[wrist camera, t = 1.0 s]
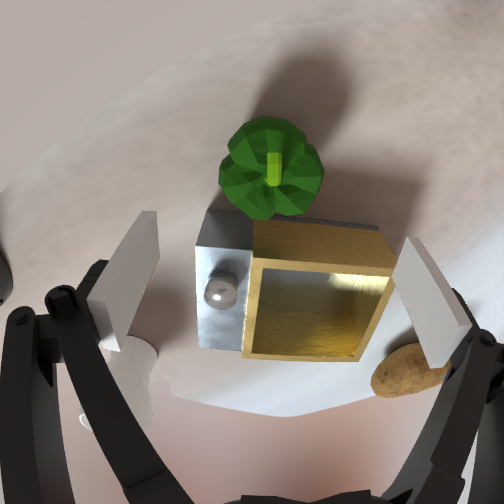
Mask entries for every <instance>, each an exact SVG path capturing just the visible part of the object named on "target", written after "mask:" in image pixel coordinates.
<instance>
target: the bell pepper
mask: <svg viewBox="0 0 504 504" xmlns="http://www.w3.org/2000/svg"><path fill="white" fill-rule="evenodd" d="M228 149H229V152H230V154H229V155H228V156H227V157H226V158H224V159H223V160H222V163H221V165H220V167H219V181H218V184H219V185H220V187H221V188H222V190H223V191H224V193H225V194H226V196H227V197H228V199H229V200H230V202H232V203H233V204H234V205H235V206H237V207H238V208H239V209H240V210H241V211H243V212H244V213H245V214H246V215H248V216H249V217H250V218H251V219H259V220H269V219H270V218H271V217H272V216H273V215H274V214H275V213H276V212H277V213H280V214H282V215H284V216H291V215H297V214H303V213H305V212H306V211H307V210H308V208H309V206H310V205H311V203H312V201H313V200H314V198H315V196H316V195H317V193H318V191H319V188H320V185H321V182H322V178H323V175H324V172H325V170H324V168H323V166H322V163H321V161H320V158H319V156H318V154H317V152H316V150H315V149H314V147H313V146H312V145H310V144H308V143H307V142H306V136H305V135H304V133H303V132H302V131H301V130H300V129H298V128H297V127H296V126H295V125H293V124H292V123H291V122H289V121H288V120H284V119H278V118H272V117H266V116H263V117H260V118H257V119H255V120H252V121H249V122H246V123H244V124H243V125H242V126H241V127H240V129H239V130H238V131H237V132H236V133H235V134H234V135H233V137H232V138H231V139H230V141H229V143H228Z"/></svg>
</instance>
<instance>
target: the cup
mask: <svg viewBox="0 0 504 504" xmlns="http://www.w3.org/2000/svg"><path fill="white" fill-rule="evenodd" d="M157 358H158V356H157V352H156V350H155V349H154V348H153V347H152V346H151V345H150V344H149V343H147V342H146V341H144V340H142V339H140V338H137V337H134V336H126V339H125V342H124V344H123V347H122V349H121V352H118V351H112V350H111V355H110V360H109V362H108V364H107V366H108V368H109V370H110V372H111V374H112V376H113V378H114V380H115V382H116V384H117V386H118V387H119V389H120V391H121V393H122V395H123V397H124V399H125V400H126V402H127V404H128V406H129V408H130V409H131V411H132V413H133V415H134V416H135V418H136V420H137V422H138V423H139V425H140V427H141V428H142V430H143V432H144V433H145V435H146V434H147V432H148V430H149V428H150V426H151V422H152V416H153V407H152V399H151V395H150V392H149V388H148V385H149V376H150V373H151V371H152V369H153V367H154V365H155V363H156V360H157ZM79 419H80V421H81V423H82V424H83V425H84V426H85V427H86V428H88V429H89V430H91V431H92V432H93V430H92V428H91V426H90V424H89V422H88V419H87V417H86V415H85V413H84V410H83V408H82V406H81V403H80V413H79Z"/></svg>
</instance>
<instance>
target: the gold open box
mask: <svg viewBox="0 0 504 504" xmlns="http://www.w3.org/2000/svg"><path fill="white" fill-rule="evenodd" d="M195 249H196V292H197V319H198V340H199V347H200V348H210V349H220V350H232V351H242V358H247V359H262V360H280V361H308V362H359V360H360V358H361V356H362V354H363V352H364V350H365V348H366V347H367V345H368V343H369V341H370V339H371V337H372V335H373V333H374V331H375V328H376V326H377V324H378V322H379V320H380V318H381V316H382V314H383V312H384V309H385V307H386V305H387V303H388V301H389V298H390V296H391V294H392V292H393V289H394V287H395V283H394V281H393V279H392V277H391V276H392V274H393V272H394V269H395V266H396V264H397V260H396V258H395V256H394V254H393V252H392V251H391V249H390V247H389V245H388V244H387V242H386V240H385V238H384V237H383V235H382V233H381V231H380V230H379V228H378V227H376V226H368V225H359V224H351V223H342V222H333V221H323V220H314V219H304V218H294V217H284V216H272V217H271V218H270V219H269V220H259V219H251V218H250V217H249V216H248V215H246V214H245V213H239V212H227V211H214V210H207V211H206V214H205V217H204V220H203V223H202V227H201V230H200V233H199V236H198V239H197V243H196V246H195Z"/></svg>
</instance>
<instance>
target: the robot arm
mask: <svg viewBox="0 0 504 504" xmlns="http://www.w3.org/2000/svg"><path fill="white" fill-rule="evenodd" d="M159 258H160V253H159V242H158V229H157V215H156V212H154V211H142V212H141V213H140V215H139V216H138V217H137V219H136V220H135V222H134V223H133V225H132V226H131V228H130V229H129V231H128V232H127V234H126V235H125V237H124V238H123V240H122V242H121V243H120V245H119V246H118V248H117V249H116V251H115V252H114V254H113V256H112V257H111V259H110V260H101V259H100V260H99V261H97V262H96V263H95V264H93V265H92V266H91V267H90V269H89V270H88V272H87V273H86V275H85V277H84V278H83V281H81V283H80V284H79V286H78V288H77V289H76V290H75V289H74V287H72V286H69V285H61V286H57V287H55V288H53V289H51V290H50V291H49V292H48V293H47V295H46V297H45V305H46V307H47V310H48V312H49V314H44V315H36V314H35V312H34V310H33V309H32V308H31V307H28V306H21V307H19V308H16V309H15V310H13V311H12V312H11V313H10V315H9V316H8V319H7V323H6V330H5V336H4V344H3V353H2V362H1V372H0V467H1V477H2V486H3V494H4V500H5V504H75V500H74V496H73V492H72V487H71V483H70V478H69V473H68V468H67V462H66V456H65V451H64V444H63V437H62V430H61V422H60V413H59V402H58V389H57V371H56V363H65V364H66V367H67V370H68V372H69V375H70V378H71V381H72V383H73V386H74V388H75V391H76V393H77V396H78V398H79V401H80V403H81V406H82V408H83V410H84V413H85V415H86V417H87V419H88V422H89V424H90V426H91V428H92V430H93V433H94V434H95V437H96V439H97V441H98V443H99V445H100V447H101V449H102V451H103V453H104V455H105V456H106V458H107V460H108V462H109V464H110V465H111V468H112V469H113V471H114V473H115V475H116V477H117V478H118V480H119V482H120V483H121V486H122V488H123V492H124V494H125V496H126V498H127V500H128V502H129V503H130V504H194V502H193V501H192V500H191V499H190V497H189V496H188V495H187V493H186V492H185V491H184V489H183V488H182V487H181V485H180V484H179V482H178V481H177V480H176V478H175V477H174V476H173V474H172V473H171V472H170V470H169V469H168V468H167V467H166V465H165V464H164V463H163V461H162V460H161V458H160V457H159V455H158V454H157V452H156V451H155V449H154V448H153V446H152V444H151V443H150V441H149V440H148V438H147V436H146V435H145V433H144V432H143V430H142V428H141V427H140V425H139V423H138V422H137V420H136V418H135V416H134V415H133V413H132V411H131V409H130V408H129V406H128V404H127V402H126V400H125V399H124V397H123V395H122V393H121V391H120V389H119V387H118V386H117V384H116V382H115V380H114V378H113V376H112V374H111V372H110V370H109V368H108V366H107V364H106V362H105V359H104V357H103V355H102V353H101V351H100V349H99V347H98V344H99V342H100V340H101V343H102V346H103V348H104V349H107V350H112V351H118V352H121V349H122V347H123V344H124V342H125V339H126V336H127V334H128V331H129V329H130V326H131V324H132V321H133V319H134V316H135V314H136V311H137V309H138V306H139V304H140V302H141V299H142V297H143V294H144V292H145V290H146V287H147V285H148V283H149V280H150V278H151V276H152V273H153V271H154V269H155V267H156V264H157V262H158V260H159ZM391 277H392V279H393V281H394V283H395V285H396V288H397V290H398V292H399V294H400V296H401V299H402V301H403V303H404V305H405V308H406V310H407V312H408V315H409V317H410V319H411V322H412V324H413V327H414V329H415V331H416V334H417V336H418V339H419V341H420V344H421V346H422V349H423V352H424V354H425V357H426V359H427V362H428V365H429V368H430V369H432V368H443V367H444V365H445V364H446V363H447V361H448V360H449V359H450V361H451V364H452V365H451V367H450V368H449V369H448V371H447V372H446V373H445V374H444V376H443V377H442V378H441V381H442V380H443V379H444V378H445V379H444V382H443V384H442V387H441V389H440V392H439V394H438V397H437V399H436V401H435V403H434V406H433V408H432V410H431V412H430V415H429V417H428V419H427V421H426V423H425V425H424V427H423V430H422V431H421V433H420V435H419V437H418V439H417V441H416V443H415V445H414V447H413V449H412V451H411V452H410V454H409V456H408V458H407V460H406V462H405V463H404V465H403V467H402V469H401V470H400V472H399V474H398V476H397V477H396V479H395V480H394V482H393V483H392V485H391V486H390V487H389V488H388V489H387V490H386V491H385V492H384V493H383V494H382V496H381V497H377V496H372V495H371V492H370V490H362V491H354V492H346V493H340V494H337V495H334V496H331V497H328V498H324V499H321V500H318V501H315V502H311V503H306V502H300V501H295V500H291V499H286V498H281V497H277V496H251V495H242V496H241V499H240V500H236V501H231V502H227V503H224V504H457V502H458V500H459V498H460V496H461V493H462V491H463V489H464V486H465V479H463V478H461V475H462V472H463V469H464V466H465V464H466V461H467V459H468V456H469V453H470V451H471V447H472V445H473V442H474V439H475V436H476V433H477V430H478V437H477V447H476V456H475V463H474V470H473V477H472V483H471V488H470V493H469V499H468V503H467V504H504V344H501V343H497V341H496V339H495V337H494V336H493V335H492V334H491V333H490V332H489V331H487V330H485V329H480V327H479V326H478V324H477V322H476V320H475V318H474V317H473V315H472V313H471V311H470V310H469V308H468V306H467V305H466V304H465V301H464V300H463V298H462V296H461V295H460V294H459V293H458V292H457V291H456V290H455V289H454V288H451V287H450V285H449V284H448V282H447V280H446V279H445V277H444V276H443V274H442V272H441V271H440V269H439V268H438V266H437V265H436V263H435V262H434V260H433V259H432V257H431V256H430V254H429V253H428V251H427V250H426V248H425V247H424V245H423V244H422V242H421V241H420V239H419V238H417V237H409V236H407V237H406V240H405V243H404V246H403V248H402V251H401V254H400V256H399V259H398V261H397V264H396V266H395V269H394V272H393V274H392V276H391ZM12 288H13V283H12V277H11V274H10V271H9V268H8V266H7V264H6V262H5V260H4V258H3V257H2V255H1V253H0V306H1V305H3V304H4V303H5V301H6V300H7V299H8V297H9V296H10V294H11V292H12Z"/></svg>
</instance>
